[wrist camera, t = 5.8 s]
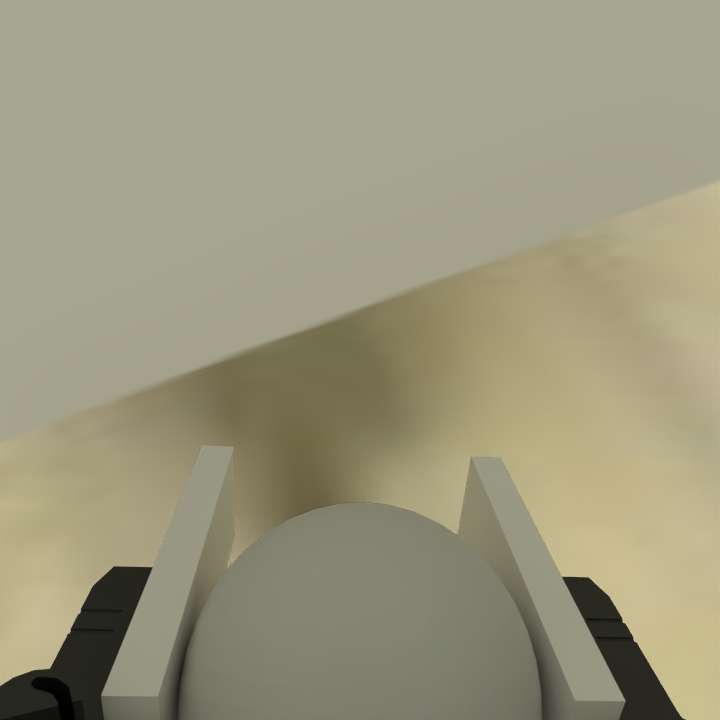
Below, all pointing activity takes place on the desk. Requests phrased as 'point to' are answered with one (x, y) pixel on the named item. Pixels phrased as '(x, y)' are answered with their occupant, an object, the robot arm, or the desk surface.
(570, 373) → the desk surface
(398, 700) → the light bulb
